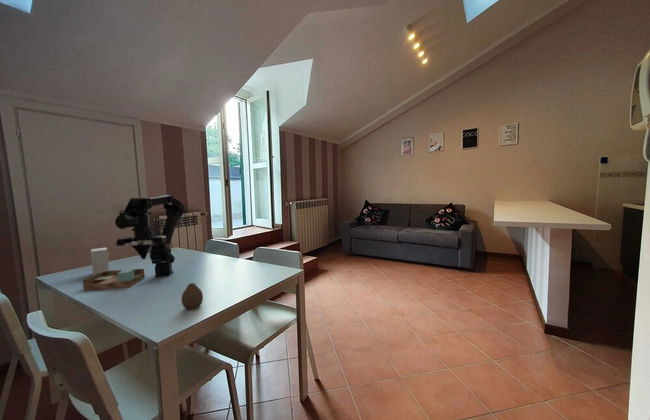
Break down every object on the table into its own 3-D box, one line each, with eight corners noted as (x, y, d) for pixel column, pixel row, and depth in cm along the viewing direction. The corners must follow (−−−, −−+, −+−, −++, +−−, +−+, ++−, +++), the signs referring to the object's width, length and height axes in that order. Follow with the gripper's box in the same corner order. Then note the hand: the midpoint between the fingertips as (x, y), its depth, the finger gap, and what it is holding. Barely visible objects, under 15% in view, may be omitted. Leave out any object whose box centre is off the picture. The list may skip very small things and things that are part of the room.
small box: (109, 274, 135) (106, 249, 134) (92, 277, 131) (90, 251, 130) (109, 270, 141) (107, 247, 140) (93, 273, 137) (91, 248, 136)
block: (134, 277, 121) (134, 269, 121) (129, 281, 117) (128, 272, 117) (124, 278, 121) (123, 270, 120) (118, 281, 116) (117, 273, 116)
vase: (187, 304, 98) (185, 281, 97) (206, 303, 99) (204, 280, 98) (178, 312, 91) (177, 288, 91) (199, 311, 92) (197, 287, 91)
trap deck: (144, 277, 129) (144, 268, 129) (129, 287, 116) (128, 277, 116) (103, 280, 126) (103, 271, 126) (83, 290, 113) (82, 280, 113)
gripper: (170, 222, 127) (173, 253, 129) (128, 223, 124) (131, 255, 126) (160, 225, 117) (163, 259, 118) (113, 227, 113) (117, 262, 115)
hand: (143, 259), depth 119 cm, fingers closed
